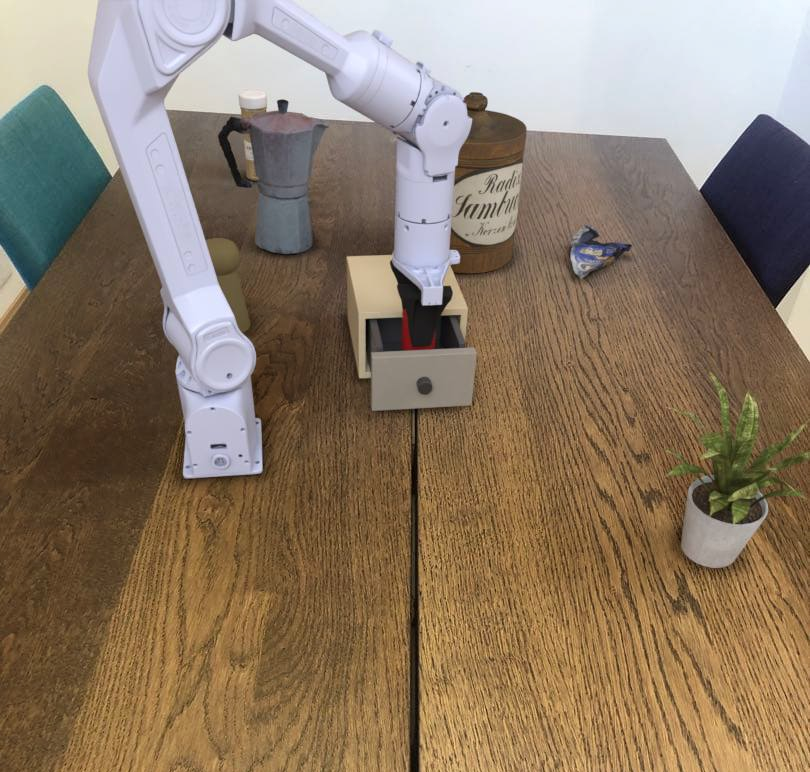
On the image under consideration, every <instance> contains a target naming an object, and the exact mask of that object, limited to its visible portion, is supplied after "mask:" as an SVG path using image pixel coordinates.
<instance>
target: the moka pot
mask: <svg viewBox="0 0 810 772" xmlns="http://www.w3.org/2000/svg"><path fill="white" fill-rule="evenodd" d="M289 103H290V102H289V101H288V100H286V99H282V98H281V99H278V100H276V104H277V110H269V111H267V112H264V113H258V114H254V115H253V117H252V118H242V117H241V118H239V117H235V116H230V117H229V119H228V120H226V122H225V124H224V125H223V126H222V127H221V130H220V131H219V132H218V135H217V138H218V143H219V146H220V147H221V150H222V152H223V155H224V158H225V159H226V162H227V166H228V168H229V169H230V173H231V176H232V178H233V180H234V182H235V185H236V187H239V188H246V189H248V188H252V185H253V184H254V181H253V180H251V179H247V180H246V179H243V178H242V175H241V172H240V170H239V169H238V164H237V159H236V157H235V155H234V152H233V150H232V146H231V142H230V141H229V139H228V138H229V135H230V134H231V133H232V132H236V133H238V134H241V135H243V134H249V135H250V140H251V146H252V152H253V158H254V165H255V172H256V176H257V177H258V178H259V179H258V181H257V183H256V185H257V188H258V190H259V193H258V199H257V212H256V213H257V214H256V223H255V234H254V244H255V245H256V246H257V247H258V248H260V249H262V250H265V251H267V252H269V253H274V254H280V255H284V254H285V255H291V254H299V253H304V252H306V251H308V250H310V249H311V248H312V247H313V245H314V243H313V242H314V237H313V227H312V226H313V225H312V218H311V209H310V205H311V204H312V199H311V197H310V196H309V193H308V192H309V186H310V179H311V176H312V169H313V168H312V167H313V162H314V161H313V160H314V157H315V154H316V152H317V150H318V147H319V146H320V145H319V144H320V142H321V140H322V138H323V136H324V133H325V132H326V130H327V129H328V128H329V125H328V124H327V123H326V122H325V121H323V120H322V119H320V118H317V117H312V116H308V115H306V114H304V113H302V112H295V111H288V109H289Z"/></svg>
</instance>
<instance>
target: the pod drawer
mask: <svg viewBox="0 0 810 772" xmlns="http://www.w3.org/2000/svg"><path fill="white" fill-rule="evenodd" d="M401 340H402V317H397V318H373V319H366V353H367V358H368V362H369V367H370V372H371V378H370V408H371V412H378V411H379V412H380V411H395V410H396V411H398V410H413V409H414V410H415V409H431V408H432V409H433V408H448V407H450V408H451V407H466V406H467V407H468V406H472V405H473V396H474V395H473V394H474V386H475V375H476V367H477V366H476V365H477V358H478V352H477V350H476V347H466V346H467V343H466V339H465V340H464V337H463V334H462V332H461V329H460V327H459V324H458V321H457V319H456V316H455V315H444V316H440V319H439V321H438V324H437V327H436V338H435V348H434V349H431V350H410V351H405V350H404V349H403V348H402V346H401Z"/></svg>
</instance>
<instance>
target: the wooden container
mask: <svg viewBox="0 0 810 772" xmlns="http://www.w3.org/2000/svg"><path fill="white" fill-rule="evenodd" d="M463 98H464V100H463V102H464V103H466V106H467V115H468V116H469V118H472V125H471V129H470V132H469V135H468V137H467V139H466V141H465V142H464V144H463V145H462V147H461V149H460V151H459V155H458V165H457V166H455V178H454V192H453V207H452V220H451V234H450V248H449V250H456V251H458V253H459V255H460V263H459V264H452V265H450V266H451V268H452V271H453V273H454V274H467V275H469V274H479V273H480V274H483V273H488V272H491V271H495V270H497V269H501V268H502V267H504V266H506V265H507V264H508V263H509V262H510V261H511V258H512V254H513V249H514V241H515V234H516V228H517V227H516V226H517V222H518V221H517V219H518V214H519V213H518V212H519V205H520V196H521V195H520V194H521V184H522V175H523V165H524V156H525V147H526V141H527V133H528V132H527V130H528V129H527V126H526V124H525V123H524V122H523V121H522V120H520V119H519V118H517V117H514V116H511V115H509V114H506V113H503V112H498V111H495V110H489V109H487V108H488V103H489V101H488V97H487V96H485V95H484V94H483V93H482V92H477V91H471V92H469V94H467V95H465V96H463Z"/></svg>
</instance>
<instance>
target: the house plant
mask: <svg viewBox="0 0 810 772" xmlns="http://www.w3.org/2000/svg"><path fill="white" fill-rule="evenodd" d="M707 372H708V374H709V375H710V377H711V379H712V381H713V382H714V385H715V388H716V390H717V393H718V397H719V403H720V421H721V428H722V431H723V432H722V433H723V436H722V434H720V433H719V432H713V431H712V432H708V430H707V428H706V426H705V425H704V423H702V422H701V421H700V420H699V419H698V417H697V416H696V415H694V414H692V413H690V412H688V411H685V410H682V409H678V408H674V407H667V406H666V407H665V406H664V409H668V410H671V411H674V412H676V413H677V414H679V415H680V414H681V415H683V416H685V417H688V418H689V419H691V420H693V421H694V423H696V424H697V426H698V427H699V428H700V430H701V432H702V434H701V435H699V441H700V442H701V445H703V446H704V447H705V449H706V450H707V451H706V452H704V453H703V454H702V455H701V457H700V459H699V461H703V462H706V461H708V460H710V461H711V466H712V473H713V474H712V475H711V474H709V473H708V472H707V471H706V470H705V469H704V468H703V467H701V466H698V465H696V464H692V463H690V464H689V462H688V461H687V460H686V459H685V458H684V456H682V454H680V453H678V452H676V451H674V450H670V449H667V448H659V447H658V449H659V450H662V451H663V452H667V453H668V454H671V455H673V456H675V457H676V458H678V459H679V460H680V461H681V462H683V463H679V464H678V465H675V466H674V467H673V468H671V469H670V471H669V472H668V473H667V474H666V475H665V476H664V477H663V478H667V477H668V476H669V477H670V476H671V477H672V476H673V477H676V476H677V477H678V476H686V475H687V476H688V475H694V477H696V480H694V481H693V482H691V483H690V485H689V486H688V490H687V496H686V502H685V509H684V516H683V525H682V532H681V539H680V547H681V550H682V552H683V553H684V555H685V556H686V557H687V558H688V559H689V560H690V561H692V562H694V563H696V564H698V565H700V566H702V567H706V568H711V569H720V568H721V569H722V568H726V567H728V566H731V565H732V564H733V563H734V562H735V561H736V560H737V558H738V557H739V555H740V554H741V552H742V551H743V550H744V548H745V547H746V546H747V545H748V542H749V541H750V540H751V539H752V537H753V536H754V535H755V533H756V531H757V530H758V529H759V527H760V526H761V525H762V523H763V522H764V521H765V519H767V515H768V514H769V504H768V501H767V499H768V498H773V497H783V496H787V497H790V496H791V497H799V498H801V499H804V500H805V501H807V498H806V497H805V495H804V494H803V493H802V491H801V490H798V489H794V488H793V486H791V485H790V484H789V483H787V482H786V481H784V480H781V479H780V478H778V477H773V476H770V475H772V474H773V473H775V475H777V474H778V471H780V470H782V469H785V468H788V467H790V466H791V467H792V466H794V465H797V464H802V463H804V462H806V461H807V460H810V451H805V452H802V453H799V454H796V455H793V456H789V457H787V458H784V459H782V460H780V461H779V462H778V463H776V464H775V465H773V466H772V467H766V466H767V465H768V464H769V463H770V462H771V461H772V460H773V459H774V458H775V457H776V456H778V455H779V454H781V453H782V452H783V451H784V450H785V449H786V448H788V447H789V445H790V444H791V443H793V441H794V440H795V439H796V438H797V436H799V434H800V433H801V432H802V431H803V429H804V428H805V427H806V426H807V424H808V423H809V422H810V418H809V419H808V420H807V421H805V422H803V423H802V424H801V425H800V426H798V428H796V429H795V430H793V431H791V433H788V435H787V436H786V437H785V438H784V439H783V440H782V441H781V442H780V443H772V444H769V445H767V446H766V447H765V448H764V449H763V450H762V451H761V452H760V453H759V454H758V455H757V457H756V458H755V459H754V460H753V462H752V463H751V464H750V466H749V467H748V469H747V470H746V471H745V469H746V467H747V465H748V463H749V460H750V459H751V456H752V453H753V450H754V446H755V441H756V440H757V439H760V438H767V437H768V435H767V436H766V435H765V436H764V435H763V436H759V437H757V435H758V433H759V431H760V430H761V429H762V428H763V426H764V425H765V424H766V423H767V422H768V421H769V420H770V419H771V418H772V417H773V416H775V415H776V414H778V413H779V412H781V411H782V409H779V410H777V411H776V412H774V413H772V415H771V416H769V417H768V418H767V420H765V422H764V423H763V424H762V426H761V427H760V428H759V424H760V413H759V406H758V402H757V401H756V398H755V395H754V394H752V396H751V394H750V391H749V389H746V394H745V397H744V401H743V404H742V407H741V408H742V409H741V412H740V415H739V418H738V421H737V424H736V427H735V432H734V439H732V438H733V437H732V429H731V412H730V410H731V409H730V402H729V397H728V393H727V391H726V389H725V388H724V386H723V385H722V383H721V382H720V381H719V379H718V378H717V377H716V376H715V374H713V373H712V372H710V371H709V370H707ZM702 428H703V429H704V430H705V432H706V433H705V432H704V430H703V429H702ZM744 471H745V472H744ZM699 474H704V475H705V476H702V477H701V476H700V475H699ZM772 485H783V486H785V487H788V488H782V489H781V488H780V489H778V490H777V489H776V490H774V491H770V492H768V493H766V494H764V495H763V494H762V493H761V491H760V490H762V489H765V488H766V487H769V486H772ZM766 498H767V499H766Z"/></svg>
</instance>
